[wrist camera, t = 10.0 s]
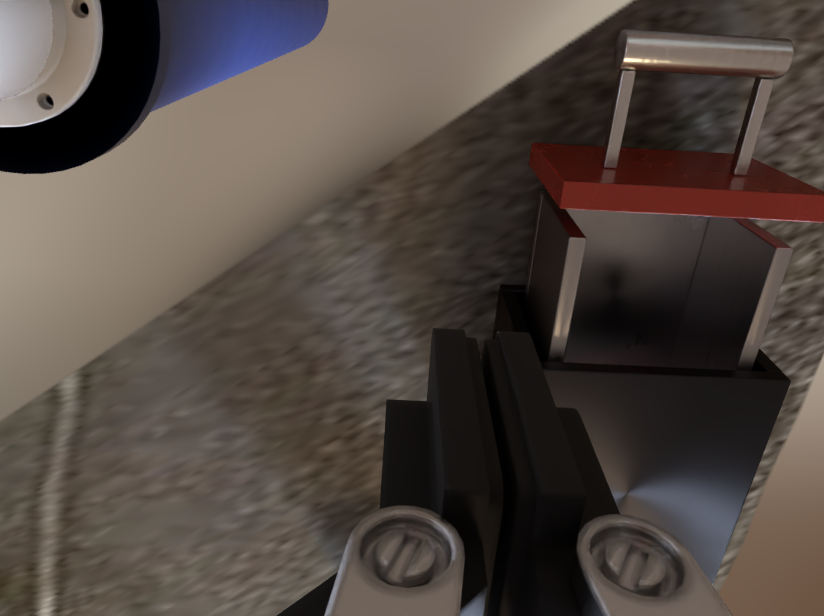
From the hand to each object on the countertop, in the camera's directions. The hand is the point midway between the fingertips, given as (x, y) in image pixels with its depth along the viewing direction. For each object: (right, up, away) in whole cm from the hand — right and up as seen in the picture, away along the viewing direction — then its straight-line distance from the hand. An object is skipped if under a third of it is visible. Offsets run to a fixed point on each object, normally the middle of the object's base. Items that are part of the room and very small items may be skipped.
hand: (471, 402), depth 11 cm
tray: (+11, +7, +24) cm, 27 cm away
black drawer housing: (+10, -4, +30) cm, 32 cm away
